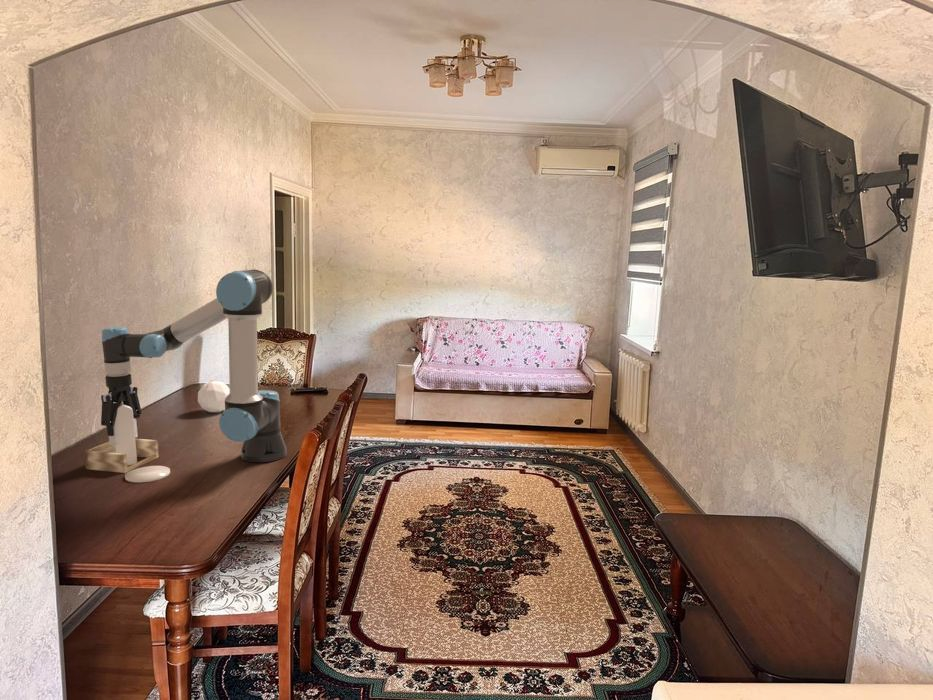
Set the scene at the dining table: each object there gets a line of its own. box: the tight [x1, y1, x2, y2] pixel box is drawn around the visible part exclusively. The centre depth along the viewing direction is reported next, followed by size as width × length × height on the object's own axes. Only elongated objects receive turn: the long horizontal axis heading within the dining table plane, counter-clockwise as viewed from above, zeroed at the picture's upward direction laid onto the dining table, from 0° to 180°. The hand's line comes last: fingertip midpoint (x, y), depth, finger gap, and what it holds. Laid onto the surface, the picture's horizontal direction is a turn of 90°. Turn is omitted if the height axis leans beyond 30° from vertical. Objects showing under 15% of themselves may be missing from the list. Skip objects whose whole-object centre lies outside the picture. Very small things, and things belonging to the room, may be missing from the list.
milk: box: [113, 400, 138, 466], centre depth 218 cm, size 6×6×22 cm
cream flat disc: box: [124, 465, 171, 484], centre depth 208 cm, size 13×13×1 cm
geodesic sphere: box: [197, 379, 230, 413], centre depth 283 cm, size 15×14×14 cm
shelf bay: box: [83, 437, 160, 474], centre depth 219 cm, size 15×16×6 cm
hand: (123, 440), depth 218 cm, fingers closed on milk, 8 cm apart
